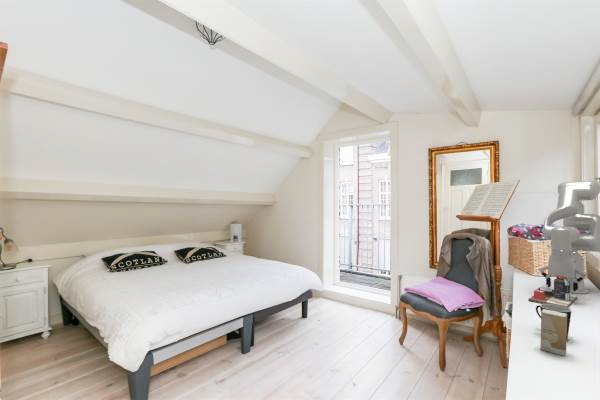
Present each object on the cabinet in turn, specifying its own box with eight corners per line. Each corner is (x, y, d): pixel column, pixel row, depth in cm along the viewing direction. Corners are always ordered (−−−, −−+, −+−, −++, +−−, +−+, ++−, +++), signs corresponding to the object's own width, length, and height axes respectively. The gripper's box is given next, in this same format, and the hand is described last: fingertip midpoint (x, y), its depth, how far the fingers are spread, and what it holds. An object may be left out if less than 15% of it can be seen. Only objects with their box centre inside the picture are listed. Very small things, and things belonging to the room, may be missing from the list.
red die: (535, 297, 154) (535, 288, 154) (545, 298, 151) (544, 290, 151) (533, 298, 151) (533, 290, 151) (543, 300, 148) (543, 291, 149)
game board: (541, 292, 166) (540, 286, 166) (577, 298, 155) (577, 292, 155) (528, 301, 150) (528, 294, 150) (567, 308, 139) (567, 302, 139)
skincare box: (540, 349, 100) (539, 311, 100) (542, 345, 103) (541, 308, 103) (566, 356, 95) (566, 316, 95) (567, 352, 98) (567, 313, 98)
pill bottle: (573, 300, 147) (572, 276, 147) (558, 300, 148) (558, 276, 148) (565, 297, 153) (564, 274, 153) (551, 296, 154) (551, 273, 154)
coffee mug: (576, 343, 105) (576, 313, 105) (545, 339, 107) (545, 310, 108) (561, 330, 115) (561, 303, 116) (533, 326, 118) (533, 300, 119)
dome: (541, 291, 163) (541, 283, 163) (552, 293, 159) (552, 285, 159) (538, 293, 160) (538, 284, 160) (550, 295, 156) (550, 286, 156)
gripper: (586, 254, 146) (587, 290, 146) (541, 250, 160) (541, 283, 159) (584, 256, 142) (584, 294, 141) (537, 252, 155) (537, 286, 155)
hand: (561, 288), depth 150 cm, fingers open, 9 cm apart
